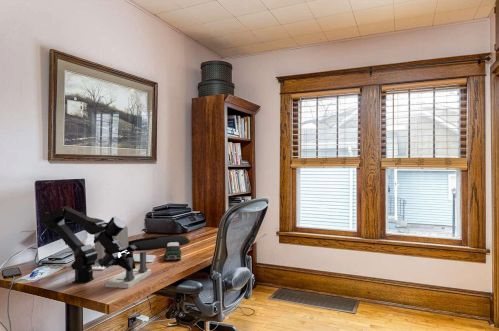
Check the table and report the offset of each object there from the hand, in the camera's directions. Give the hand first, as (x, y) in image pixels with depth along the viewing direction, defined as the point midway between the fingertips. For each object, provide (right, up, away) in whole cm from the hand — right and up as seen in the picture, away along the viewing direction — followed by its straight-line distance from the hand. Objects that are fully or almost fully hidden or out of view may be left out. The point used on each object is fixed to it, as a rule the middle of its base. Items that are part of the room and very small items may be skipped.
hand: (132, 269), depth 143 cm
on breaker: (+1, -4, +12) cm, 13 cm away
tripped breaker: (-1, -4, 0) cm, 5 cm away
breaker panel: (-4, -7, +7) cm, 10 cm away
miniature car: (+7, -8, +45) cm, 46 cm away
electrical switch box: (-27, -7, +40) cm, 49 cm away
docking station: (-9, -9, +79) cm, 80 cm away
